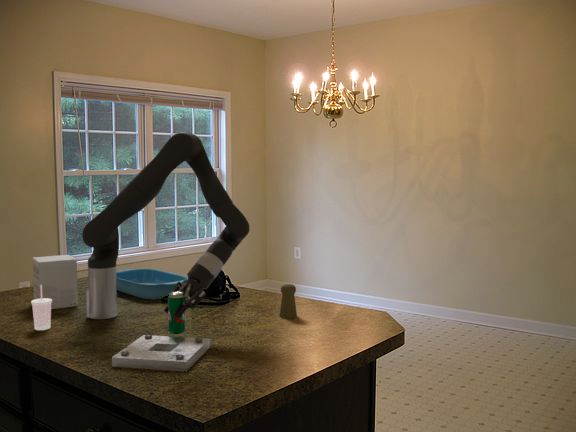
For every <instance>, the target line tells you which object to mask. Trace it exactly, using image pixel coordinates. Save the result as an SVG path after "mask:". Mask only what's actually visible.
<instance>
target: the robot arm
mask: <svg viewBox="0 0 576 432" xmlns="http://www.w3.org/2000/svg"><path fill="white" fill-rule="evenodd" d="M184 162H186V164H187V165H188V166H189V167H190V169H192V171H193V173H194V174H195V176H196V178H197V181H198V183H199V187H200V189H201V193H202V195H203V198H204V200H205V201H206V203H207V205H208V206H209V208H210V209H211V211H212V213H213V214H214V215H215V217H217V218H219V219H220V220H221V221H222V223H223V224H224V225H225V226H224V228H223V230H222V231H221V232H220V234H219V236H218V237H217V238H216V239H215V240H214V241H213V242H212V243H211V244H210V246H208V248H207V249H206V251H204V253H203V254H202V255H201V256H200V257H199V258H198V259H197V260H196V262H195V264H194V265H193V266H192V267H191V268H190V270H189V271H188V272H187V276H186V277H188V280H187V281H185V282H184V283H181V282H178V283H177V284H176V286H175V288H174V289H173V291H172V292H174V291H181V292H184V300H183V302H182V305H180V306H179V307H178V308H177V310H176V311H175V312H174V316H175V317H176V318H178V319H179V318H180V317H181V316H182V315H183V313H184V312H185V313H186V311H187V310H189V309H194V308H195V307H196V306H197V305H198V304H199V303H200V302H201V301H203V299H204V298H205V296H206V295H207V293H206V292H205V291H204V290H207V289H208V288H209V287H210V285H211V284H212V283H213V282H214V280H215V279H216V278H217V276H218V275H219V274H220V272H221V271H222V268H224V266H225V265H226V263H227V262H228V260H230V257H231V256H232V255H233V252H234V251H235V250H236V249H237V247H238V246H239V245H241V243H242V241H243V240H244V239H245V238H246V237H247V236H248V234H249V232H250V224H249V220H248V219H247V218H246V217H245V215H244V214H243V213H242V211H240V209H239V208H238V207H237V206H236V205H235V204H234V202H233V200H232V199H231V197H230V195H229V193H228V192H227V190H226V188H225V187H224V185H223V184H222V183H221V181H220V179H219V177H218V175H217V173H216V172H215V169H214V168H213V166H212V163H211V161H210V158H209V156H208V155H207V152H206V149H205V146H204V144H203V142H202V140H201V138H200V137H199V136H197V135H195V134H194V133H190V132H187V131H186V132H184V131H180V132H179V131H178V132H176V133H174V134H173V135H172V136H170V137H169V138H168V140H167V141H166V142H165V144H164V145H163V146H162V148H161V149H160V150H159V152H157V154H156V155H155V157H154V158H153V159H151V161H150V162H148V164H146V166H145V167H143V168H142V169H141V170H140V171H139V172H138V173H137V174H136V175H135V176H134V177H133V178H132V179H131V181H129V182H128V183H127V185H126V186H124V188H123V189H121V191H120V192H119V193H118V194H117V195H116V196H115V198H113V200H112V201H111V202H110V203H109V204H108V205H107V206H106V207H105V208H104V209H102V211H101V212H99V213H98V214H96V216H95V217H93V218H92V219H91V220H89V221H88V222H87V223H86V224H85V225H84V227H83V230H82V232H81V233H82V234H81V235H82V237H81V238H82V241H83V243H84V244H85V245H86V246H87V247H90V248H93V250H92V253H91V255H90V257H89V258H88V259H87V280H88V283H87V285H88V288H86V290H85V299H86V301H85V302H86V303H85V304H86V318H87V319H88V318H89V319H92V320H93V319H94V320H107V319H112V318H115V317H117V316H118V290H117V274H116V272H117V262H118V261H117V260H118V258H119V253H120V252H119V245H120V240H119V239H120V235H119V228H118V227H119V226H120V225H121V224H123V223H124V222H125V221H127V220H128V219H130V218H132V217H134V216H135V215H136V214H138V213H139V212H141V211H142V210H143V209H144V208H146V207H147V206H148V205H149V204H150V203H151V202H152V201H153V200H155V198H156V197H157V196H158V194H159V193H161V190H162V188H163V187H164V184H165V182H166V180H167V178H168V177H169V175H170V174H171V173H173V171H175V170H176V168H178V167H179V166H180V165H181V164H183V163H184ZM163 310H164V313H166V314H167V315H168V304H167V305H166V307H165V308H164V309H163Z"/></svg>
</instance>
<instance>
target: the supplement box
mask: <svg viewBox="0 0 576 432" xmlns="http://www.w3.org/2000/svg"><path fill="white" fill-rule="evenodd" d="M77 262H78V259H77V258H75V257H73V256H71V255H70V254H59V255H58V254H57V255H47V256H33V257H32V274H33V275H32V277H33V278H32V279H33V280H32V281H33V300H34V299H40V298H41V288H40V285H42V298H50V299H52V303H51V310H56V309H65V308H73V307H78V306H79V292H78V287H79V286H78V285H79V284H78V263H77Z"/></svg>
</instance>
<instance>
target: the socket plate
mask: <svg viewBox="0 0 576 432" xmlns="http://www.w3.org/2000/svg"><path fill="white" fill-rule="evenodd" d="M210 348H211V339H210V338H203V337H188V336H187V337H186V336H185V337H184V336H181V337H180V336H168V335H152V334H143V335H142V336H140V337H139V338H137V339H135V340H133V342H132V343H130V344H128V345H127V346H126V347H124V348H122V349H121V350H120V351H119V352H117V353H115V355H113V356H112V357H111V367H112V368H127V369H141V370H144V369H145V370H157V371H169V372H171V371H172V372H174V371H175V372H184V371H186V372H188V371H189V369H190V368H191V367H192V366H193V365H194V364H195V363H196V362H197V361H198V360H199V359H200V358H201V357H202V356H203V355H205V353H206V352H207V351H208V350H209V349H210Z"/></svg>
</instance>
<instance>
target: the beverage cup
mask: <svg viewBox="0 0 576 432" xmlns="http://www.w3.org/2000/svg"><path fill="white" fill-rule="evenodd" d="M40 288H41V298H40V299H34V298H33V299H32V300H31V301H30V303H31V307H32V316H33V325H34V330H36V331H46V330H49V329H51V324H52V323H51V321H52V320H51V319H52V318H51V317H52V309H51V303H52V299H50V298H42V285H40Z"/></svg>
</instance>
